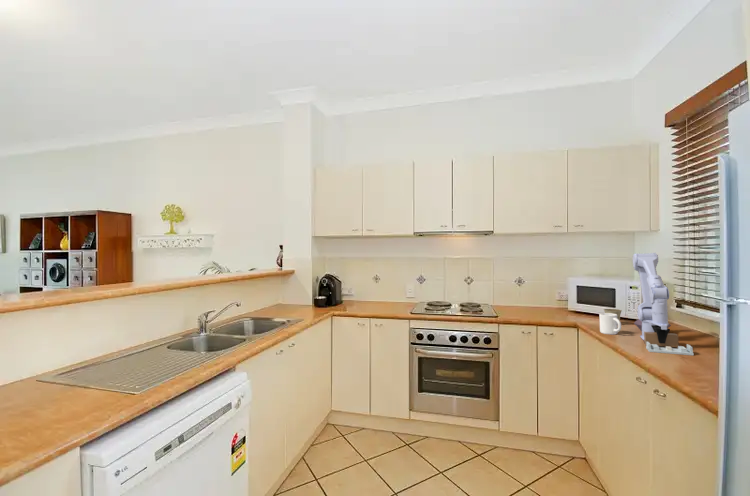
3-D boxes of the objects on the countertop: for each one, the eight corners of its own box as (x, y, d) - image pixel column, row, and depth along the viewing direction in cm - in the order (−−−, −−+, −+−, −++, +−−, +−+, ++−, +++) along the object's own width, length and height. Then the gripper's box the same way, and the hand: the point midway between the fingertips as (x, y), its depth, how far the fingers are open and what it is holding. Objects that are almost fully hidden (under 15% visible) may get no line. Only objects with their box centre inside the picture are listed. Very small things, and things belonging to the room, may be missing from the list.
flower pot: (601, 322, 224) (600, 308, 225) (618, 322, 223) (617, 308, 223) (608, 325, 215) (607, 311, 215) (625, 325, 213) (624, 311, 213)
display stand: (646, 347, 165) (645, 341, 165) (688, 351, 158) (688, 344, 158) (649, 351, 159) (649, 344, 159) (693, 355, 152) (693, 347, 152)
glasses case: (644, 343, 171) (644, 331, 171) (676, 345, 165) (675, 333, 165) (646, 344, 168) (645, 333, 168) (678, 347, 162) (678, 335, 162)
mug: (627, 335, 189) (627, 316, 189) (614, 336, 188) (613, 317, 188) (609, 331, 201) (608, 312, 201) (596, 331, 199) (595, 313, 200)
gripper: (645, 310, 175) (647, 337, 175) (652, 315, 162) (653, 345, 162) (664, 310, 172) (665, 339, 171) (672, 316, 159) (673, 346, 159)
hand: (660, 342), depth 166 cm, fingers closed on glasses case, 4 cm apart
